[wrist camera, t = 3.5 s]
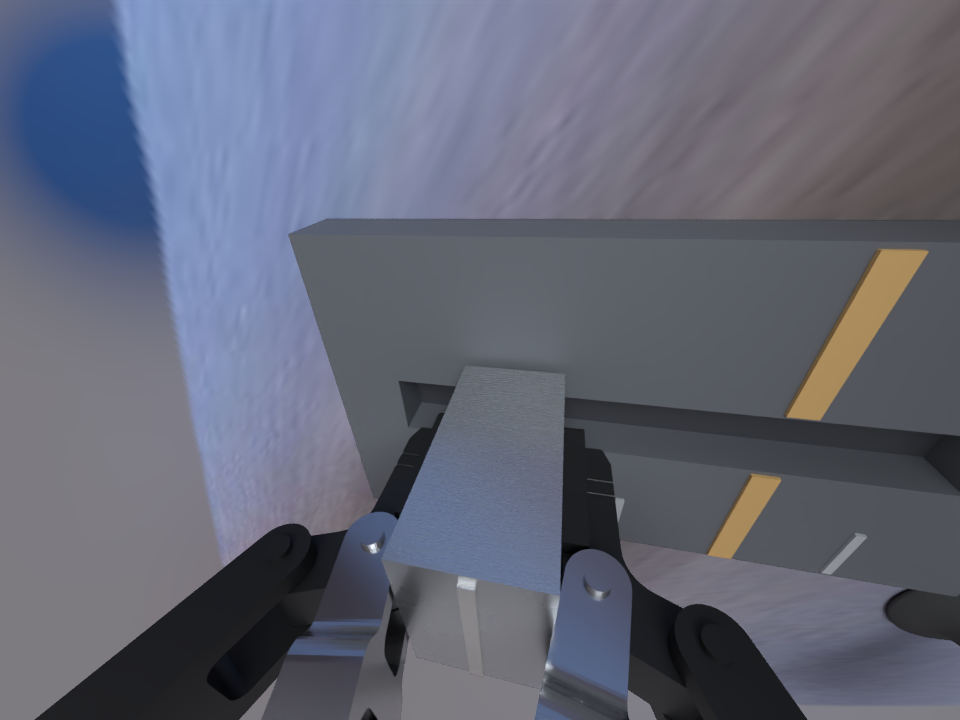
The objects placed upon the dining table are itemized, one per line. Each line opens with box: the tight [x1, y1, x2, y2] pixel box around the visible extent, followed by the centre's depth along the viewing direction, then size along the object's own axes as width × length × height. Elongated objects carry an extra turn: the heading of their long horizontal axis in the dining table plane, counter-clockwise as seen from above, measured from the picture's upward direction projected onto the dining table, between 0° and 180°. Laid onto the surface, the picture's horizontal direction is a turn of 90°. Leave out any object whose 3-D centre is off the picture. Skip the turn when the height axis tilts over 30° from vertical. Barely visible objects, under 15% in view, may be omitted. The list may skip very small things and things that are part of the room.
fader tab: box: [381, 365, 565, 689], centre depth 10 cm, size 3×4×8 cm
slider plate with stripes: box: [288, 219, 960, 597], centre depth 12 cm, size 22×12×2 cm, turn 92°
